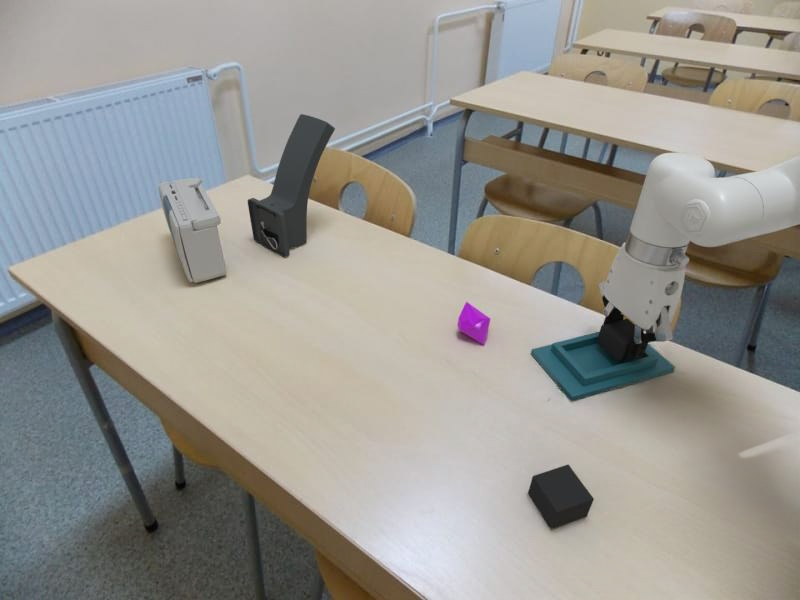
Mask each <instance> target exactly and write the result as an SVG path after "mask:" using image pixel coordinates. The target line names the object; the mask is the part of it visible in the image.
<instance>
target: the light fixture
mask: <svg viewBox="0 0 800 600" xmlns="http://www.w3.org/2000/svg"><path fill="white" fill-rule="evenodd" d="M335 130H336V128H335V126H333V125H332V124H330V123H329V122H328V121H325V120H323V119H321V118H317V117H316V116H315V117H314V116H311V115H307V114H302V113H301V114H299V117H298V118H297V119H296V122H295V124H294V126H293V128H292V131H291V132H290V135H289V137H288V139H287V141H286V144H285V146H284V148H283V152H282V154H281V158H280V160H279V163H278V166H277V170H276V173H275V177H274V182H273V186H272V189H271V192H270V194H269V195H268V196H267V197H265V198H262V199H260V200H259V199H257V198H254V197H251V198H249V199H247V207H248V213H249V220H250V225H251V231H252V237H253V241H254V242H256V243H257V244H258V245H261V246H262V247H264V248H266V249H268V250H270V251H271V252H273V253H275V254H277V255H278V256H281V257H283V258H286V257H288V256H290V249H294V248H296V247H299V246H303V245H305V244H307V242H308V232H307V231H308V230H307V229H308V227H307V226H308V222H307V221H308V203H309V196H310V192H311V187H312V185H313V184H312V183H313V179H314V178H315V174H316V171H317V168H318V166H319V162H320V160H321V158H322V155H323V153H324V151H325V149H326V147H327V145H328V143H329V141H330V139H331V138H332V136H333V135H334V134H333V133H334V132H335Z"/></svg>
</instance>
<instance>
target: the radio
mask: <svg viewBox="0 0 800 600" xmlns="http://www.w3.org/2000/svg"><path fill="white" fill-rule="evenodd" d="M203 181H205V178H204V177H201V178H200V179H199V177H189V178H180V179H176V180H171V181H164V182H160V183H159V184H158V194H159V198H160V199H159V200H160V202H161V203H160V204H161V207H162V211H163V214H164V217H165V220H166V224H167V228H168V229H169V233H170V235H171V238H172V240H173V245H174V246H175V250H176V252H177V254H178V257H179V260H180V263H181V265H182V268H183V270H184V273H185V276H186V278H187V280H188V281H189V282H190V283H195V284H196V283H197V284H198V283H201V282H205V281H209V280H213V279H216V278H219V277H224V276H226V275H227V267H226V262H225V258H224V253H223V249H222V248H223V247H222V243H221V239H220V233H219V229H218V226H219V225H221V224H222V222H221V221H222V219H221V216H220V214H219V213H218V211H217V208H216V207H215V205H214V204H213V202H212V199H211V197H210V196H209V195H208V193H207V191H206V189H205V188H204V186H203Z"/></svg>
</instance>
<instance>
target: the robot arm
mask: <svg viewBox="0 0 800 600" xmlns="http://www.w3.org/2000/svg"><path fill="white" fill-rule="evenodd" d="M715 176H716V170H715V167H714V165H713V164H712V163H711V162H710V161H709V160H707V159H706V158H703V157H701V156H698V155H696V154H691V153H687V152H665V153H661V154H659V155H656V156H655V157H654V158H653V159H652V161H651V162H650V164H649V166H648V169H647V171H646V175H645V177H644V182H643V185H642V188H641V192H640V195H639V198H638V202H637V205H636V207H635V211H634V215H633V217H632V220H631V223H630V226H629V227H630V228H629V230H628V233H627V237H626V240H625V241H624V242H623V243H622V245H621V246H620V248H619V250H618V251H617V254H616V255H615V257H614V260H613V262H612V263H611V265H610V269H609V271H608V274H607V277H606V279H604V280H603V281H601V282H599V283H598V289H599V292H600V294H601V296H602V298H601V300H602V303H603V306H604V307H603V308H604V309H603V310H602V313H603V316H604V320H603V323H602V325H604V324H609V323H613V322H617V321H621V320H624V317H626V318H627V319H628V320H630V321H631V322H632V323H633V324H634V325H635V331H634V339H631V340H630V341H629V345H628V347H627V350H626V353H625V356H624V360H625V361H626V362H628V361H632V360H635V359H640V358H642V357H643V355H644V353H645V350H646V348H647V345H648V344H649V343H653V342H656V343H657V342H659V343H660V342H661V343H662V342H663V343H664V342H668V341H673V339H674V334H673V330H672V326H671V325H672V322H673V320H674V317H675V315H676V312H677V310H678V306H679V304H680V300H681V297H682V293H683V288H684V283H685V277H686V267H687V265H688V264H689V262H690V257H689V256H687V254H686V252H687V250H688V247H689V245H690V242H691V243H692V244H695V245H696V246H700V247H705V248H715V247H721V246H725V245H728V244H733V243H737V242H739V241H740V242H741V241H744V240H747V239H750V238H754V237H758V236H763V235H766V234H771V233H775V232H779V231H782V230H785V229H789V228H792V227H795V226H799V225H800V155H798V156H795V157H792V158H791V159H788V160H786V161H783V162H781V163H778V164H776V165H773V166H771V167H768V168H765V169H761V170H757V171H752V172H746V173H742V174H736V175H730V176H725V177H715ZM656 328H657V329H656ZM644 330H645V331H644ZM656 330H657V331H656ZM643 332H644V333H645V334H643Z"/></svg>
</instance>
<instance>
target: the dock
mask: <svg viewBox="0 0 800 600" xmlns="http://www.w3.org/2000/svg"><path fill="white" fill-rule="evenodd" d="M599 332H600V331H597V332H593V333H589V334H585V335H581V336H576V337H573V338H568V339H565V340H560V341H556V342H552V343H551V344H547V345H544V346H539V347H536V348H532V349H531V350H530V355H531V356H532V358H534V359H535V361H536V362H537V364H539V365H540V367H541V368H542V370H544V371H545V373H546V374H547V375H548V376H549V377H550V378H551V380H552V381H553V382H554V383H555V384H556V385H557V387H558V388H559V389H560V390H561V391H562V393H563V394H564V395H565V396H566V398H568V400H569V401H570V402H574V401H577V400H581V399H585V398H588V397H591V396H595V395H598V394H601V393H606V392H608V391H612V390H616V389H618V388H622V387H625V386H630V385H632V384H637V383H639V382H643V381H647V380H649V379H653V378H657V377H660V376H664V375H667V374H670V373H674V371H675V369H676V367H675V365H673V364H672V363H671V362H670V361H669V360H668V359H666V358H665V357H664V356H663V355H662V354H661V353H660V352H658V351H657V349H655V348H654V347H653V346H652V345H650V343H648V345H647V348H646V350H645V353H644V355H643V357H642V358H640V359H635V360H632V361H628V362H626V361H625V360H623V361H619V362H617V361H615V360H614V359H613V358H612V357H611V356H610V355H609V354H608V353H607V352H606V351H605V350H604V349H603V348H602V347H601V346H600V345H599V344H598V343H597V339H598V335H599Z"/></svg>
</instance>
